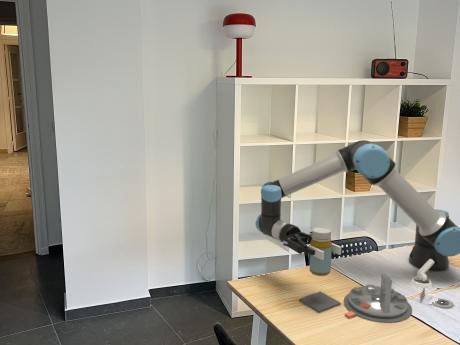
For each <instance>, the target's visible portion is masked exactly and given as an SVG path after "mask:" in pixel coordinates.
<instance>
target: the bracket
mask: <svg viewBox="0 0 460 345" xmlns="http://www.w3.org/2000/svg"><path fill="white" fill-rule="evenodd" d="M425 290H426V289H425V288H423V289H422V290H421V293H420V296H419V297H420V299H419V300H420V302H419V303H420V304H422V302H423V300H424V298H425V296H426V291H425ZM437 298H438V301H435V303H434V302H432V304H430V305H429V306H431V305H433V307H435V306H436V308H442V309H449V308H453V307H454V306H455V304H454V302H453V301H451V300H449V299H446V298H439V297H437ZM441 302H443V303H441Z"/></svg>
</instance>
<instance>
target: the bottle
mask: <svg viewBox="0 0 460 345" xmlns="http://www.w3.org/2000/svg"><path fill="white" fill-rule="evenodd" d="M311 232H312V240H311V244H309V246H310V245H311V246H313V247H315V248H317V249H319V250H322V251H324V260H321V259H319V258H317V257H315V256H313V255H310V254H309V272H310V273H311V274H312V275H314V276H319V277H325V276H329V275H330V273H331V269H332V253H333V252H332V243H333V242H332V229H330V228H328V227H325V226H324V227H323V226H315V227H313V228H312V229H311Z"/></svg>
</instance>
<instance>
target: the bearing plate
mask: <svg viewBox="0 0 460 345" xmlns="http://www.w3.org/2000/svg"><path fill="white" fill-rule="evenodd" d="M348 297H349V293H347V294H346V295H345V296H344V299H343V305H344V306H345V308H346V309H347V311H348V312H350V311H352V312H354V313H356V317H358V318H361V319H364V320H367V321H370V322H375V323H384V324H392V323H400V322H403V321H406V320H409V318H410V317H411V316H412V315H413V314H412V313H413V308H412V305H411V304H410V303H409V302H408V308H407V312H406V313H405V314H404V315H403V316H400V317H397V318H390V319H383V318H375V317H370V316H367V315H364V314H362V313H359V312H358V311H356V310H354V309H353V308H352V307H351V306H350V304H349V302H348Z"/></svg>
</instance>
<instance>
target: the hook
mask: <svg viewBox="0 0 460 345" xmlns="http://www.w3.org/2000/svg"><path fill="white" fill-rule="evenodd" d="M433 264H434V261H433V260H432V259H429V260H428V261H427V262H426V263H425V264H424V265H423V267H422V268H419V270H418V271H417V272H416V276H414V277H412V278H411V280H410V282H411V283H412V284H413V285H414V287H415V286H417V287H416V288H418V287H421V288H420V289H422V288H428V289H430V288H429V287H431V288H432V287H433V286H432V285H433V283H432V280H431V279H429V278H428V276H427V274H426V273H427V272H428V271H430V270H429V268H430V267H431V266H432V265H433ZM418 281H422V282H426V281H428V282H429V283H428V282H426V283H422V282H418ZM411 283H410V284H411ZM412 284H411V285H412ZM413 285H412V286H413Z"/></svg>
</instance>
